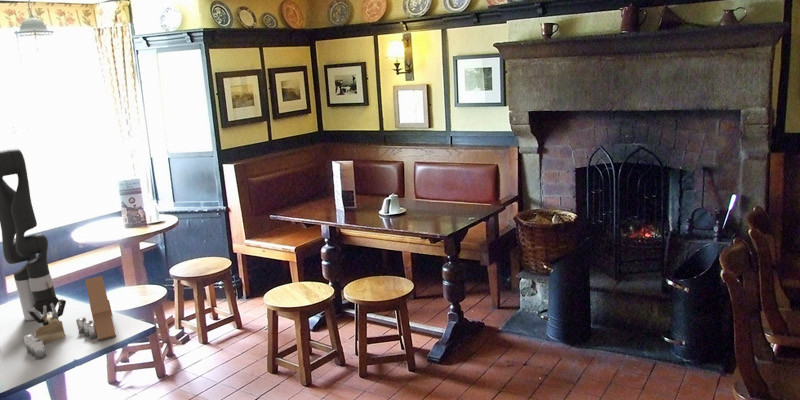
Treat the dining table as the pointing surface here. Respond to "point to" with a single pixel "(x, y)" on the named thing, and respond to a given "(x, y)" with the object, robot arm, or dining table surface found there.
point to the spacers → (37, 345)
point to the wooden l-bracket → (50, 330)
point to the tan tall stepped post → (100, 308)
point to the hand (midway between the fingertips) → (52, 329)
